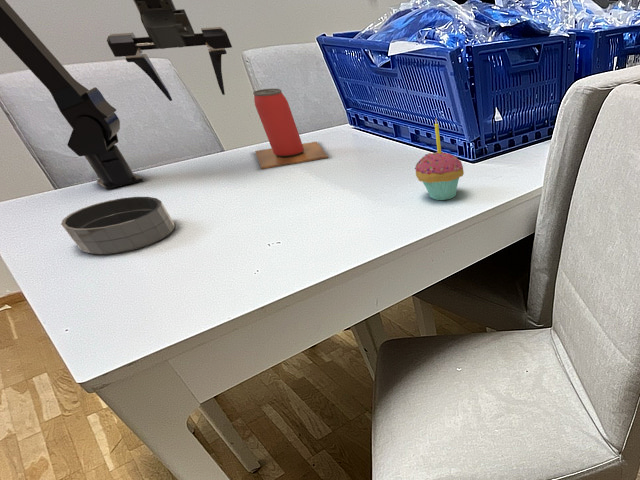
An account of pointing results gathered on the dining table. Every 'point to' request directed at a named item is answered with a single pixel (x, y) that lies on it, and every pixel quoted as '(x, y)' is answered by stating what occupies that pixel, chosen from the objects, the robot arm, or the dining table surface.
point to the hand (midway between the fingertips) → (197, 97)
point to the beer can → (278, 122)
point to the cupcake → (439, 172)
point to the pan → (119, 225)
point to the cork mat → (309, 154)
